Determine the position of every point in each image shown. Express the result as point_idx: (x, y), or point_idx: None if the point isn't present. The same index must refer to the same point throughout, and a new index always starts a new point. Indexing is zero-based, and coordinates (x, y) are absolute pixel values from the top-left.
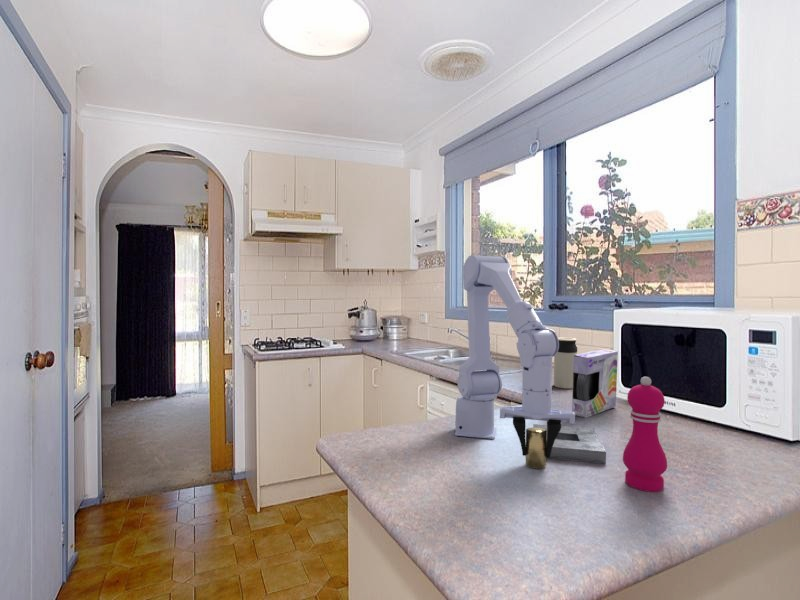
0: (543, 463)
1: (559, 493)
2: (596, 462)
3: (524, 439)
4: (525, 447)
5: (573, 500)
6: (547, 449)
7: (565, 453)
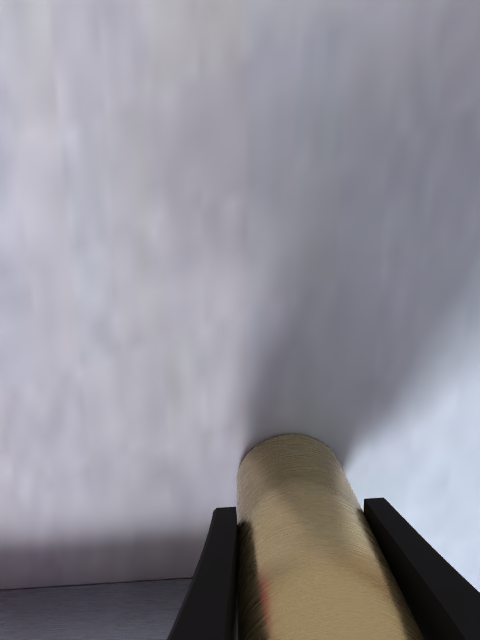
0: (251, 469)
1: (154, 131)
2: (4, 591)
3: (466, 629)
4: (403, 548)
5: (65, 43)
6: (229, 558)
7: (137, 620)
